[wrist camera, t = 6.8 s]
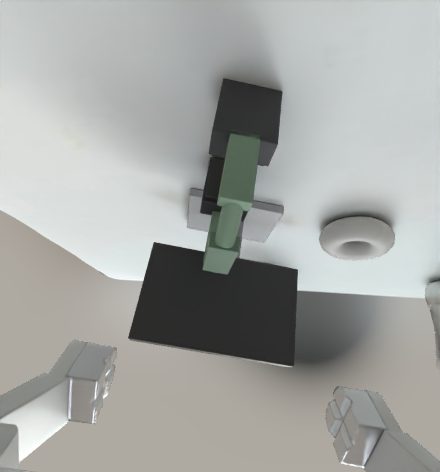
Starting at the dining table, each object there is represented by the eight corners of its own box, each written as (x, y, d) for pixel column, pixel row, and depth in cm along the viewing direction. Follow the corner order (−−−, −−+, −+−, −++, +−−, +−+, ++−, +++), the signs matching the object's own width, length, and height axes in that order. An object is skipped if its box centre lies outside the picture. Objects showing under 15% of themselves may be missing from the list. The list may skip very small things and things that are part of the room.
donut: (310, 238, 50) (372, 248, 49) (310, 257, 48) (373, 268, 48) (333, 205, 41) (409, 218, 40) (333, 228, 39) (412, 241, 39)
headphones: (223, 78, 26) (192, 220, 20) (282, 91, 26) (270, 235, 20) (208, 171, 38) (186, 279, 32) (248, 180, 38) (234, 288, 32)
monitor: (165, 182, 41) (123, 334, 33) (308, 211, 43) (304, 365, 34) (167, 217, 50) (134, 344, 42) (285, 240, 52) (277, 368, 43)
